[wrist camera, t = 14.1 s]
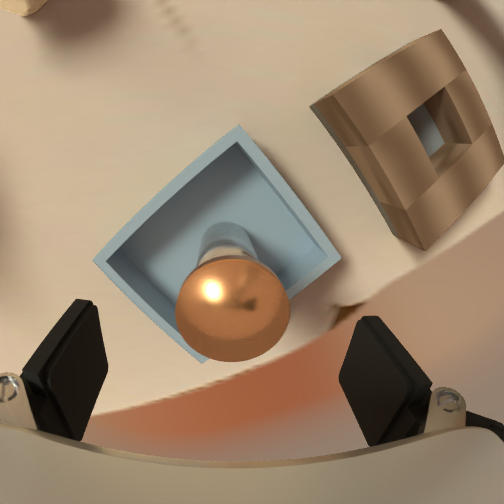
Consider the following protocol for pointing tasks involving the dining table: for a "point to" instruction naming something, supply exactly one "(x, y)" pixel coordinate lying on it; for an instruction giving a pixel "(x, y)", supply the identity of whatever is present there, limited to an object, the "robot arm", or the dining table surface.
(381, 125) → the square wooden block
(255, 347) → the copper capped shaker
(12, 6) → the cup with straw
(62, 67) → the dining table surface
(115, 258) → the tray
